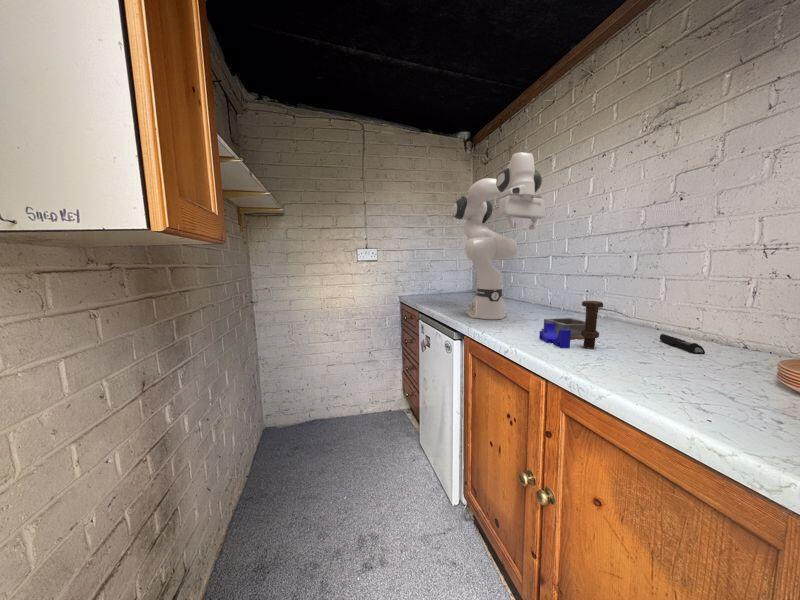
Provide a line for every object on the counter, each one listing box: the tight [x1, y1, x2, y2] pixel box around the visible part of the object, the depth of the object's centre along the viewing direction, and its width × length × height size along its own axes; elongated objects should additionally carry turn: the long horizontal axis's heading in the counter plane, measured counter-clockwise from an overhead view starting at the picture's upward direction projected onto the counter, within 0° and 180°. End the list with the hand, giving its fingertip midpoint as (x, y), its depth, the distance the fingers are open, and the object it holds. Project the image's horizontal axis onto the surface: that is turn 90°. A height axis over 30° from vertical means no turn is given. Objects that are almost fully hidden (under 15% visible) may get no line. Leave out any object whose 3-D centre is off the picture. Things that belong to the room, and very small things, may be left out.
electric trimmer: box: [659, 333, 706, 355], centre depth 99 cm, size 4×16×3 cm, turn 173°
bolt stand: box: [541, 317, 585, 340], centre depth 115 cm, size 13×13×5 cm
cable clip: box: [538, 322, 571, 349], centre depth 104 cm, size 12×4×6 cm, turn 179°
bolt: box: [581, 300, 604, 349], centre depth 98 cm, size 6×5×15 cm
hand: (522, 228), depth 121 cm, fingers open, 8 cm apart
